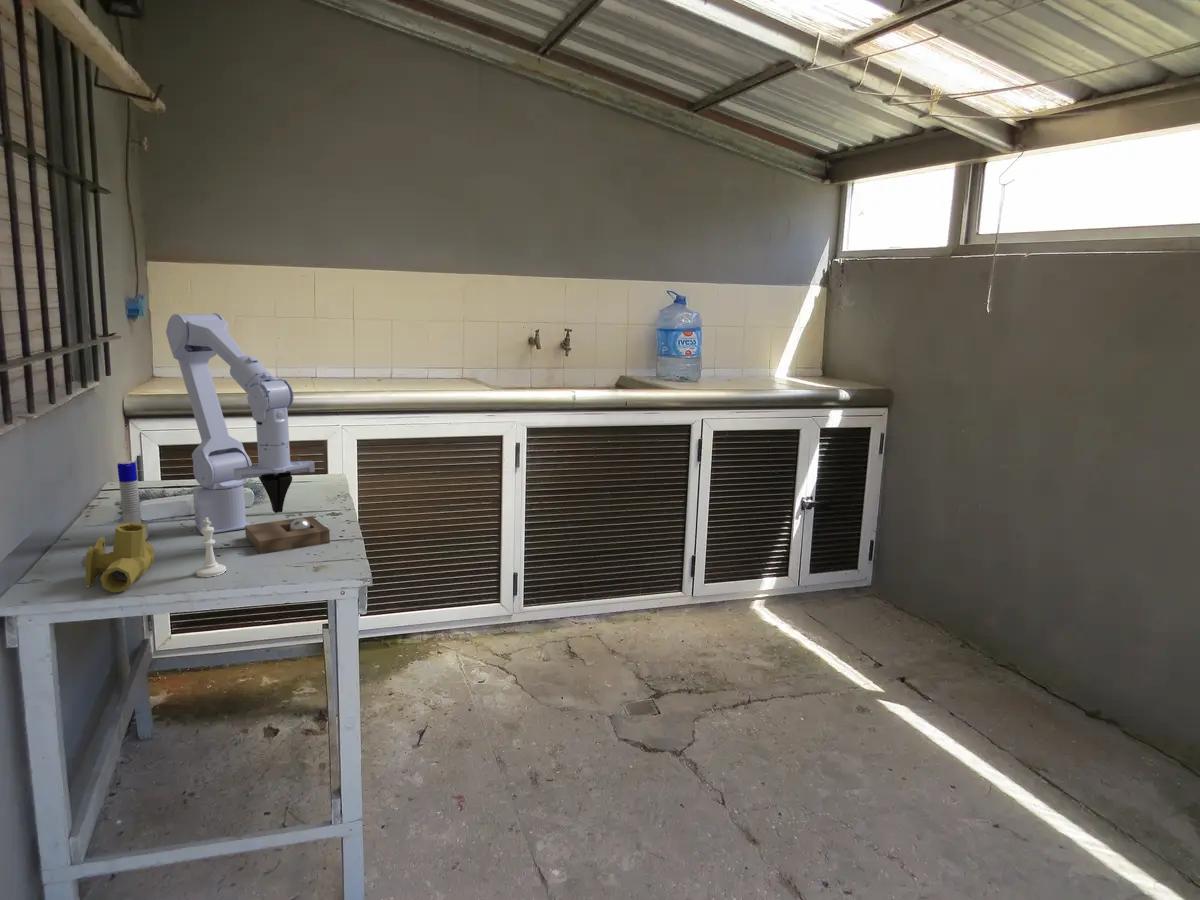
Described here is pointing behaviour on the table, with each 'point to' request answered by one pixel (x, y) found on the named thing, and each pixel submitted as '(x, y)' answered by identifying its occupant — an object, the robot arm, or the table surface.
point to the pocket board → (285, 535)
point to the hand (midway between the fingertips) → (277, 511)
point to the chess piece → (209, 554)
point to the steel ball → (299, 524)
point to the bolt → (130, 493)
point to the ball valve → (120, 558)
